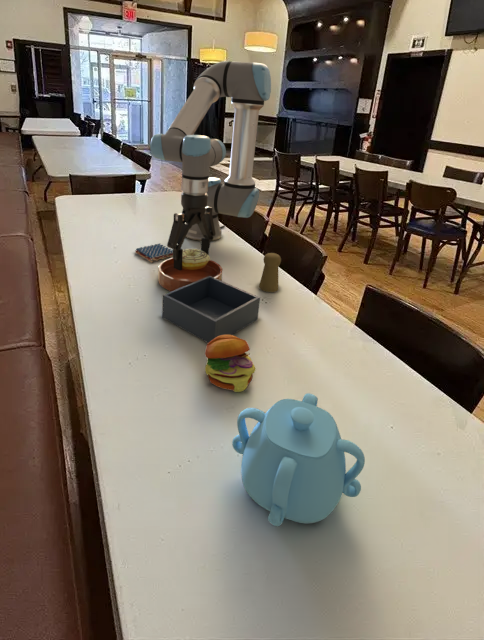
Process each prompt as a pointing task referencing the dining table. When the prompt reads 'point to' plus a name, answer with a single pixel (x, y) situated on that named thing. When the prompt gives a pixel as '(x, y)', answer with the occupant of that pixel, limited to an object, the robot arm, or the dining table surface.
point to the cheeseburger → (229, 363)
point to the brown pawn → (270, 273)
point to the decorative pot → (296, 460)
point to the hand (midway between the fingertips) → (191, 263)
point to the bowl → (185, 274)
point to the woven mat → (154, 252)
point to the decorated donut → (194, 259)
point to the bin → (210, 308)
